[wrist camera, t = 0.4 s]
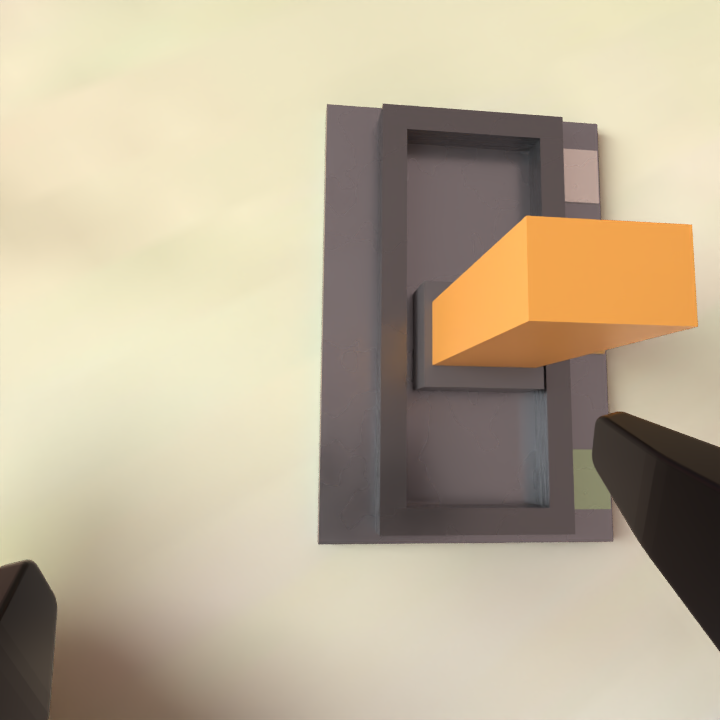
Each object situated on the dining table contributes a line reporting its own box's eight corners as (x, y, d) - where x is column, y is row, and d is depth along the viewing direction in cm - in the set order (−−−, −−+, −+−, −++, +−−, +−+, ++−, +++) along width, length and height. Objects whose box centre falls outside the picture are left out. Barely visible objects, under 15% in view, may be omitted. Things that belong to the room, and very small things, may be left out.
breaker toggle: (523, 392, 24) (712, 362, 13) (413, 390, 24) (516, 356, 13) (521, 297, 25) (701, 192, 14) (413, 293, 24) (512, 181, 13)
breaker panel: (602, 537, 25) (629, 547, 23) (317, 540, 23) (319, 550, 21) (588, 133, 27) (611, 109, 25) (325, 114, 26) (328, 88, 24)
